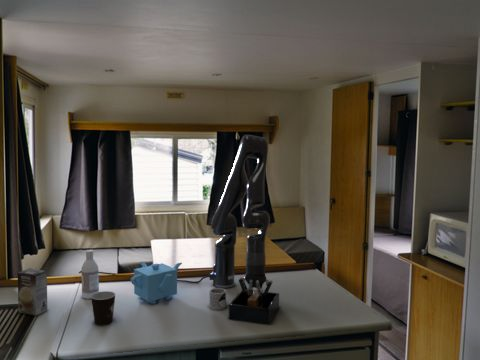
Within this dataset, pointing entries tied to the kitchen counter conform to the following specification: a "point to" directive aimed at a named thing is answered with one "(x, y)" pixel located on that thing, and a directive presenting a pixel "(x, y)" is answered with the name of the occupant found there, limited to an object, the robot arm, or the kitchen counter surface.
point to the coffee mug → (103, 307)
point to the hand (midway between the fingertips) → (255, 304)
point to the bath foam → (89, 276)
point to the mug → (217, 298)
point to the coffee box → (32, 291)
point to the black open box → (254, 308)
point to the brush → (255, 300)
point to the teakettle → (155, 281)
